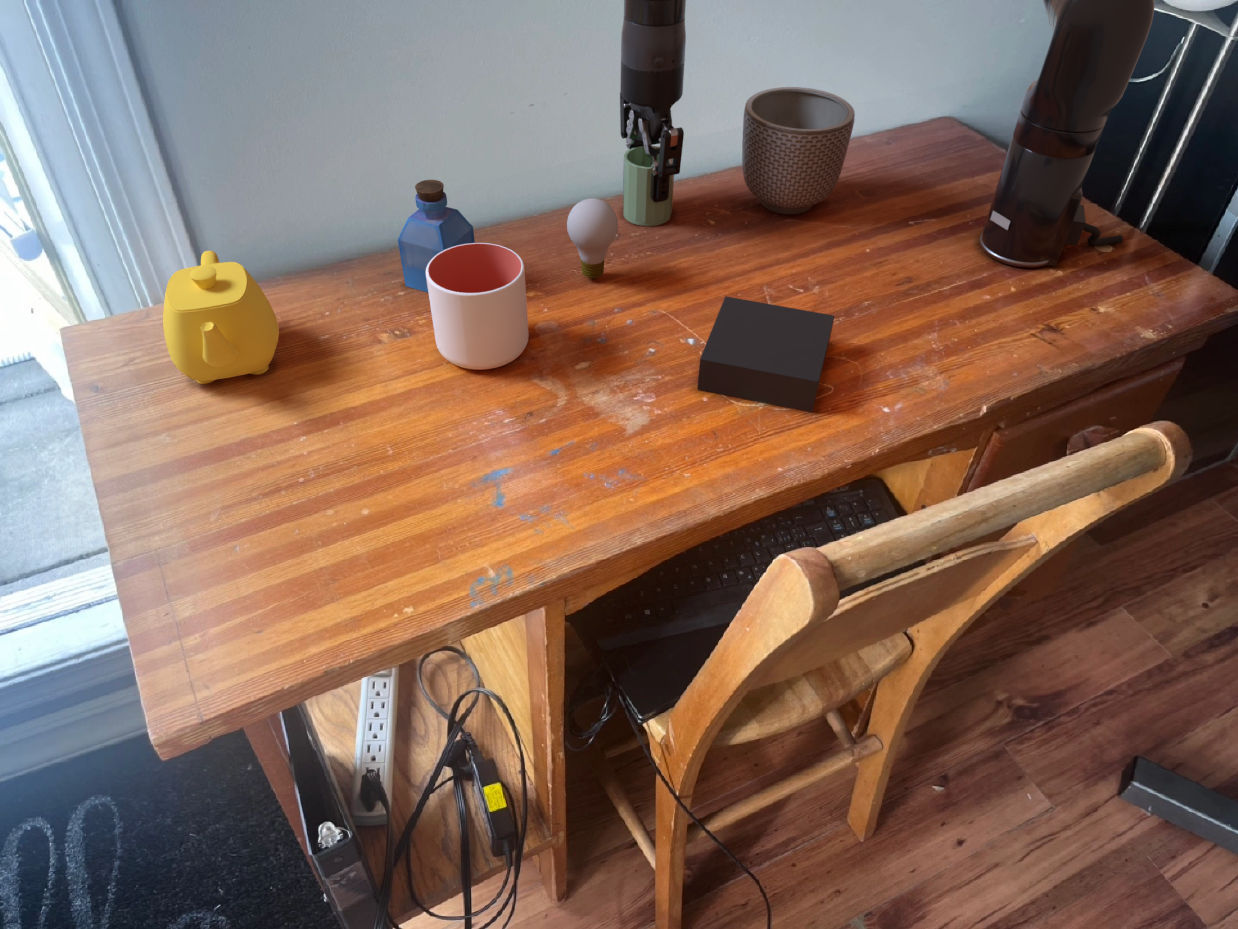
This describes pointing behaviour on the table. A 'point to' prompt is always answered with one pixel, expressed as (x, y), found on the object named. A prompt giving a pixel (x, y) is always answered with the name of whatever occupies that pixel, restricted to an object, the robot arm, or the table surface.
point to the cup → (478, 305)
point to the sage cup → (643, 191)
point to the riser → (766, 353)
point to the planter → (794, 146)
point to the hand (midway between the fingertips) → (647, 187)
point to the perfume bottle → (430, 232)
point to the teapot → (218, 321)
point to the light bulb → (592, 233)
